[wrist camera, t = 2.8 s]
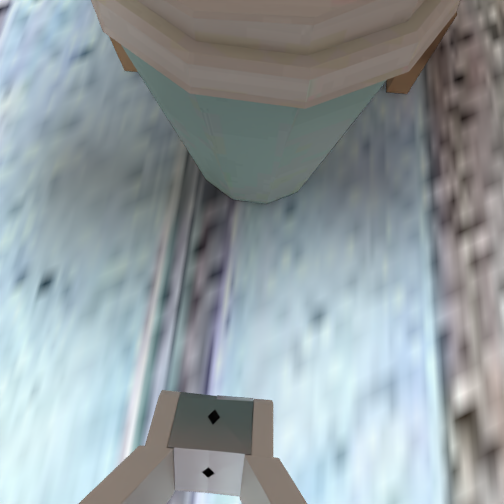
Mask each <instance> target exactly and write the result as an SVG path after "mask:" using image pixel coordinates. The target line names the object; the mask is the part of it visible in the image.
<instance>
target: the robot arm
mask: <svg viewBox="0 0 504 504" xmlns="http://www.w3.org/2000/svg"><path fill="white" fill-rule="evenodd" d="M174 491H189V492H205V493H215V494H223V495H231V496H240V500H241V502H242V504H307V503H306V501H305V499H304V498H303V496H302V495H301V493H300V491H299V490H298V488H297V487H296V485H295V483H294V482H293V480H292V479H291V477H290V475H289V474H288V472H287V470H286V469H285V467H284V466H283V464H282V462H281V461H280V459H279V458H274V457H273V402H272V400H264V399H254V400H253V398H245V397H232V396H219V395H217V396H211V395H203V394H194V393H186V392H177V391H166V390H162V391H161V393H160V395H159V398H158V401H157V405H156V409H155V412H154V416H153V419H152V423H151V426H150V430H149V433H148V437H147V440H146V444H145V446H138V447H137V448H136V449H135V450H134V451H133V452H132V453H131V454H130V455H129V456H128V457H127V458H126V459H125V460H124V461H123V462H122V463H121V464H119V465H118V466H117V467H116V468H115V469H114V470H113V471H112V472H111V473H110V474H109V475H108V476H107V477H106V478H105V479H104V480H103V481H102V482H101V483H100V484H99V485H98V486H97V487H95V488H94V489H93V490H92V491H91V492H90V493H89V494H88V495H87V496H86V497H85V498H84V499H83V500H82V501H81V502H80V503H79V504H166V503H167V502H168V501H169V499H170V498H171V497H172V495H173V494H174ZM207 491H208V492H207Z"/></svg>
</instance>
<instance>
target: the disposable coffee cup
mask: <svg viewBox="0 0 504 504" xmlns="http://www.w3.org/2000/svg"><path fill="white" fill-rule="evenodd" d="M91 1H92V4H93V7H94V9H95V12H96V14H97V17H98V20H99V22H100V25H101V27H102V30H103V32H104V33H106V34H107V35H108V36H110V37H111V38H113V39H114V40H115V41H117V42H118V43H120V44H121V46H122V47H123V49H124V50H125V52H126V54H127V55H128V57H129V58H130V60H131V61H132V63H133V65H134V66H135V68H136V69H137V71H138V73H139V74H140V76H141V77H142V79H143V80H144V82H145V84H146V85H147V87H148V88H149V90H150V92H151V93H152V95H153V96H154V98H155V99H156V101H157V103H158V104H159V106H160V107H161V109H162V111H163V112H164V114H165V115H166V117H167V118H168V120H169V122H170V123H171V125H172V126H173V128H174V130H175V131H176V133H177V134H178V136H179V137H180V139H181V141H182V142H183V144H184V145H185V147H186V149H187V150H188V152H189V153H190V155H191V156H192V158H193V160H194V161H195V163H196V164H197V166H198V167H199V169H200V171H201V172H202V174H203V175H204V177H205V179H206V180H207V181H209V182H210V183H211V184H213V185H214V186H215V187H217V188H218V189H219V190H221V191H222V192H223V193H225V194H226V195H227V196H229V197H230V198H231V199H234V200H241V201H249V202H256V203H263V204H267V203H270V202H273V201H275V200H278V199H281V198H283V197H286V196H288V195H291V194H294V193H296V192H298V191H299V190H300V188H301V187H302V186H303V185H304V183H305V182H306V181H307V180H308V178H309V177H310V176H311V175H312V173H313V172H314V171H315V170H316V168H317V167H318V166H319V165H320V163H321V162H322V161H323V160H324V158H325V157H326V156H327V155H328V153H329V152H330V151H331V150H332V148H333V147H334V146H335V145H336V143H337V142H338V141H339V140H340V138H341V137H342V136H343V134H344V133H345V132H346V131H347V129H348V128H349V127H350V126H351V124H352V123H353V122H354V121H355V119H356V118H357V117H358V116H359V114H360V113H361V112H362V111H363V109H364V108H365V107H366V106H367V104H368V103H369V102H370V101H371V99H372V98H373V97H374V96H375V94H376V93H377V92H378V91H379V89H380V88H381V87H382V85H383V84H384V83H385V82H386V80H387V79H390V78H393V77H395V76H398V75H401V74H404V73H407V72H409V71H410V70H411V68H412V67H413V66H414V65H415V63H416V62H417V61H418V60H419V58H420V57H421V56H422V55H423V53H424V52H425V51H426V50H427V48H428V47H429V46H430V45H431V43H432V42H433V41H434V40H435V38H436V37H437V36H438V34H439V33H440V32H441V31H442V29H443V28H444V27H445V26H446V24H447V23H448V22H449V21H450V19H451V18H452V17H453V16H454V14H455V13H456V11H457V9H458V6H459V3H460V0H91Z"/></svg>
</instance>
